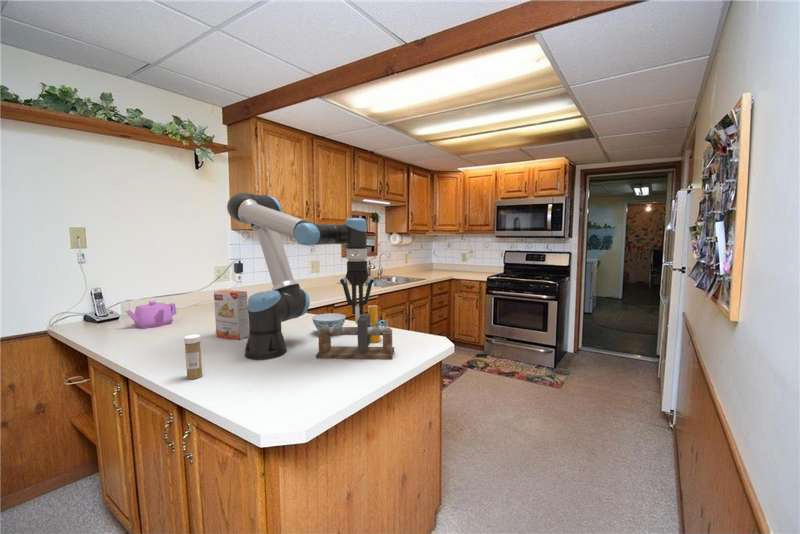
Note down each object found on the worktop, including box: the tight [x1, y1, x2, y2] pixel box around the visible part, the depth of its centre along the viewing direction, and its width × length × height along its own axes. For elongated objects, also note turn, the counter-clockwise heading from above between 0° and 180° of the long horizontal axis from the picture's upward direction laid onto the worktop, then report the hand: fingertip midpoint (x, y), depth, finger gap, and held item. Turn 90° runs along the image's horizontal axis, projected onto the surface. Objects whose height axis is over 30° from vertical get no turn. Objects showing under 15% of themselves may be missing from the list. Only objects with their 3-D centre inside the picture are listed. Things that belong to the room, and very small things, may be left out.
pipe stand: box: [315, 326, 395, 360], centre depth 136 cm, size 28×10×11 cm, turn 86°
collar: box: [356, 313, 371, 350], centre depth 136 cm, size 3×11×11 cm, turn 176°
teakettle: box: [125, 300, 177, 330], centre depth 185 cm, size 17×17×12 cm
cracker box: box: [213, 289, 249, 341], centre depth 161 cm, size 14×6×21 cm, turn 68°
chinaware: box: [312, 313, 347, 332], centre depth 166 cm, size 15×15×8 cm
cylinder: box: [367, 304, 388, 343], centre depth 154 cm, size 12×10×15 cm
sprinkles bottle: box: [183, 334, 203, 380], centre depth 115 cm, size 5×5×14 cm
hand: (358, 322), depth 135 cm, fingers closed
